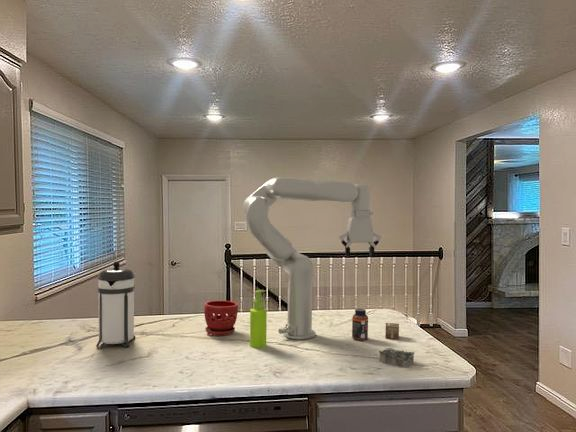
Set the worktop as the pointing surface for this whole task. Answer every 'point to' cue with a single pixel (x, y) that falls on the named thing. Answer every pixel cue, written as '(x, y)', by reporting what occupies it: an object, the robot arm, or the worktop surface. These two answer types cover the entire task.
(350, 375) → the worktop surface
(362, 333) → the supplement bottle
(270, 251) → the robot arm
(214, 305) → the plant pot
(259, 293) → the soap dispenser
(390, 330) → the letter t block
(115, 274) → the coffee press
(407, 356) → the egg carton
